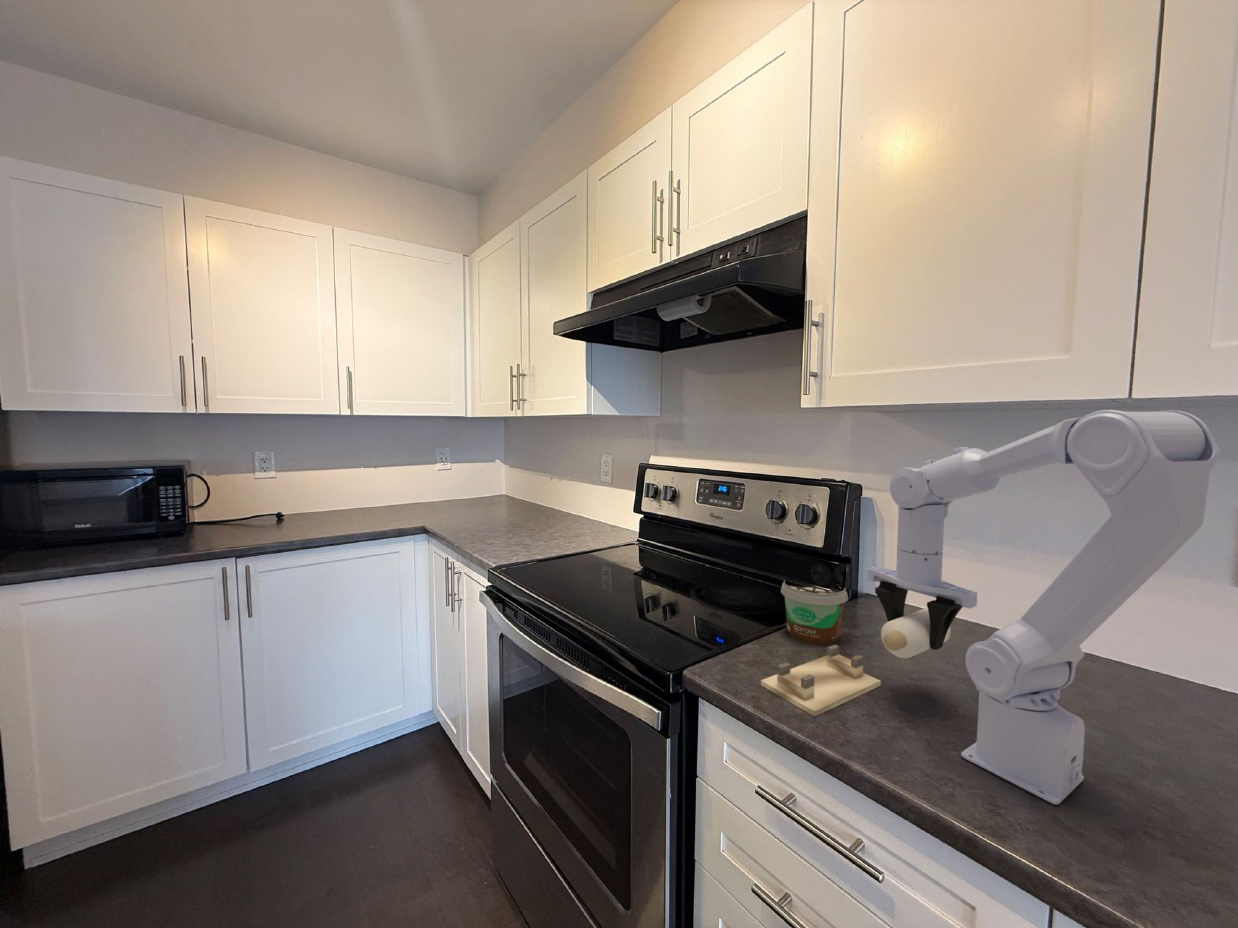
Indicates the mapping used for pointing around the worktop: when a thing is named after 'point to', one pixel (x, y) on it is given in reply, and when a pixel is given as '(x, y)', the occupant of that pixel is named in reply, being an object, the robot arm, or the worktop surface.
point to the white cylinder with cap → (908, 634)
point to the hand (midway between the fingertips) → (915, 640)
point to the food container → (813, 613)
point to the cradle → (821, 682)
